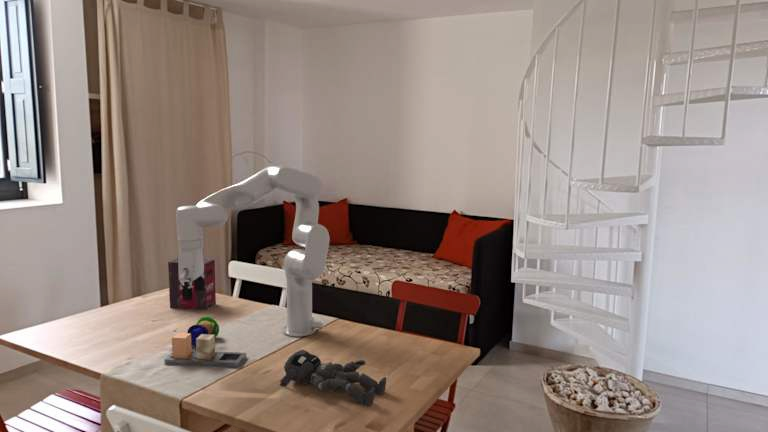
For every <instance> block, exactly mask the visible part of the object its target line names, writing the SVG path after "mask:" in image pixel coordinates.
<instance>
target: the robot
mask: <svg viewBox="0 0 768 432" xmlns="http://www.w3.org/2000/svg"><path fill="white" fill-rule="evenodd" d="M365 365H366V361H365V360H363V359H359V360H356V361H350V362H348V363H345V364H344V365H342V364H341V363H332V361H329V362H322V361H321V359H320V358H319V356H318V355H315V354H313V353H311V352H309V351H307V350H305V349H301V350H298V351H296V352H293V354H292V355H290V356H289V357H288V358H287V359H286V362H285V363H284V367H283V368H284V371H285V376H283V377H282V379H281V380H280V381H279V382H280V384H279V385H280V386H281V387H286V386H287V385H288V384H289V383H290V382H291V381H292V382H294V383H297V384H299V383H300V384H301V385H302V386H303V385H307V384H309V382H310V384H313V387H314V388H315V389H317V390H320V391H324V392H325V391H326V392H330V391H331V392H332V391H333V390H336V391H339V392H343V393H346V394H347V396H348V397H350V399H352V400H353V401H354V402H355V403H356V404H358V405H363V406H366V407H367V408H369V407H370V406H371V405H373V403H374V401H375V394H376V395H377V394H378V396H381V395H383V394H384V392H385V391H386V385H387V377H385V376H384V377H382V378H381V379H380V380H379V382H378V381H377V380H375V379H373V378H372V377H370V376H369V375H367V374H366V373H359V372H358V371H357V370H359V369H360V368H361V367H362V366H365ZM357 384H359V385H360V386H361V387H362V388H363V389H365V390H366V391H367V393H366V392H365V391H364V390H363V389H362V388H360V387H359V386H358V385H357Z"/></svg>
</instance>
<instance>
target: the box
mask: <svg viewBox="0 0 768 432" xmlns="http://www.w3.org/2000/svg"><path fill="white" fill-rule="evenodd" d="M178 259H179V257H177V258H174V259H172V260H171V261H167V264H168V265H167V267H168V269H167V270H168V291H169V308H170V309H180V310H181V309H182V310H194V311H208V310H209V309H210V308H213V307H214V306H215V305H217V303H216V302H217V299H216V298H217V296H216V268H215V267H216V264H215V263H216V262H215V259H210V258H209V259H208V258H203V262H204V274H203V275H204V288H205V290H204V291H195V286H194V281H192V285H191V288H192V291H193V300H183V298H182V288H181V284H180V283H181V282H180V280H179V273H178ZM186 279H190V278H186ZM187 283H188V284H189V282H187Z"/></svg>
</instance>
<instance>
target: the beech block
mask: <svg viewBox="0 0 768 432" xmlns="http://www.w3.org/2000/svg"><path fill="white" fill-rule="evenodd" d="M215 338H216V337H215V335H208V334H201V335H200V336H199V337H198V338H197V339H196V344H195V345H196V347H195V349H196V350H195V351H196V353H197V359H201V360H212V359H213V357H214V356H215V351H216V339H215Z"/></svg>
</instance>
